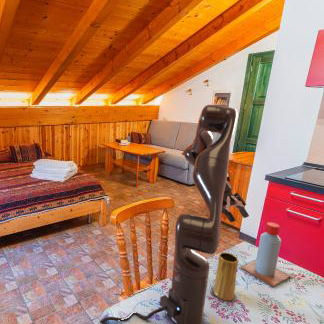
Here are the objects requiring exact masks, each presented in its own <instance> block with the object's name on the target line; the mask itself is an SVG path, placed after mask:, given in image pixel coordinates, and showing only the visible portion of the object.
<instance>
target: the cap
mask: <svg viewBox="0 0 324 324" xmlns="http://www.w3.org/2000/svg"><path fill="white" fill-rule="evenodd" d="M280 227H281V226H280V225H279V224H278V223H275V222H270V221H269V222H267V223H266V226H265V232H266V233H268V234H271V235H278V236H279V233H280Z"/></svg>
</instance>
